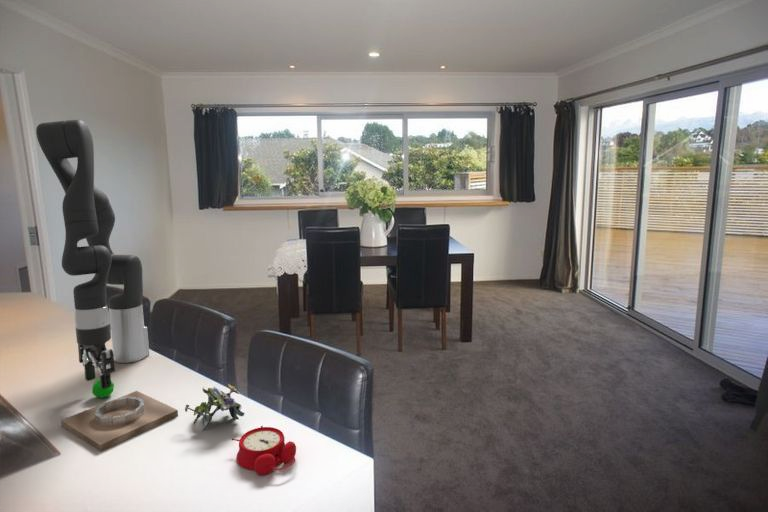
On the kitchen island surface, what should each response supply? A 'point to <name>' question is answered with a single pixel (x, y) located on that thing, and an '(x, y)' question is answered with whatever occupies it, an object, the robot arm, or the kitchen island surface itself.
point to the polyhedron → (102, 392)
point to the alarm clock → (264, 450)
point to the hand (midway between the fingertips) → (98, 383)
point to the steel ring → (120, 418)
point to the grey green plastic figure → (217, 404)
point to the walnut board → (113, 435)
